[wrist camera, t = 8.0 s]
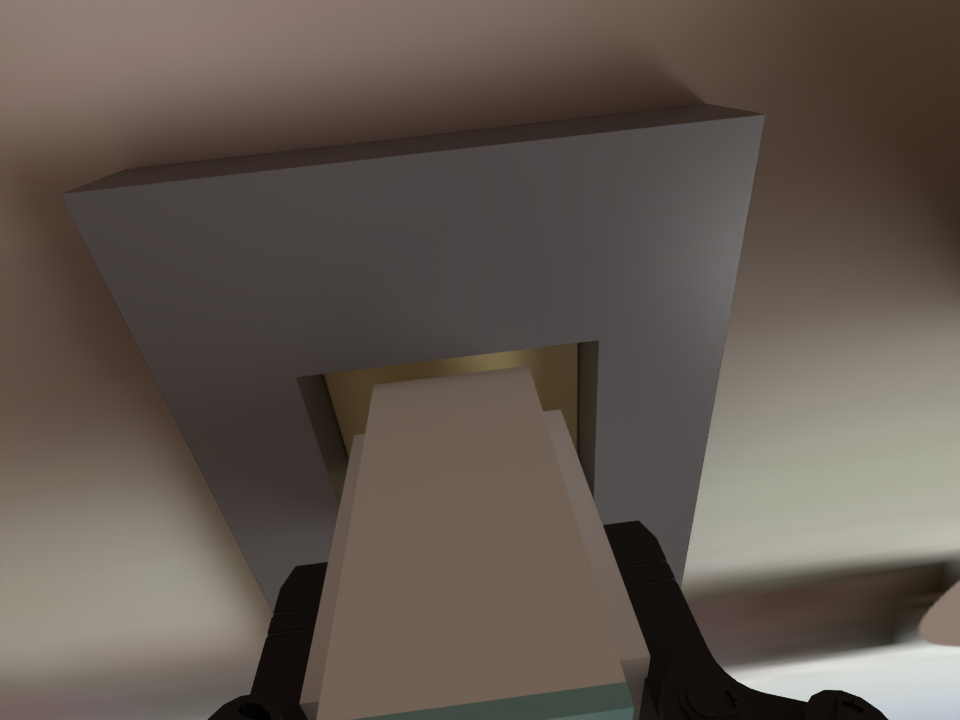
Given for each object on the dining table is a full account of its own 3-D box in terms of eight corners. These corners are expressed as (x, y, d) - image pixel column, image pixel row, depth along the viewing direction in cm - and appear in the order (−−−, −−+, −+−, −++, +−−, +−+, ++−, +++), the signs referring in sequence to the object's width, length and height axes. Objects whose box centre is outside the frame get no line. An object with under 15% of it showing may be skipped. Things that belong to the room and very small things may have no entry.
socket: (645, 602, 23) (667, 659, 21) (331, 644, 22) (321, 706, 20) (707, 103, 12) (765, 114, 10) (125, 169, 12) (60, 193, 10)
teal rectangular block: (535, 502, 16) (615, 848, 9) (406, 518, 16) (387, 880, 9) (528, 365, 13) (634, 707, 6) (373, 385, 13) (311, 751, 6)
